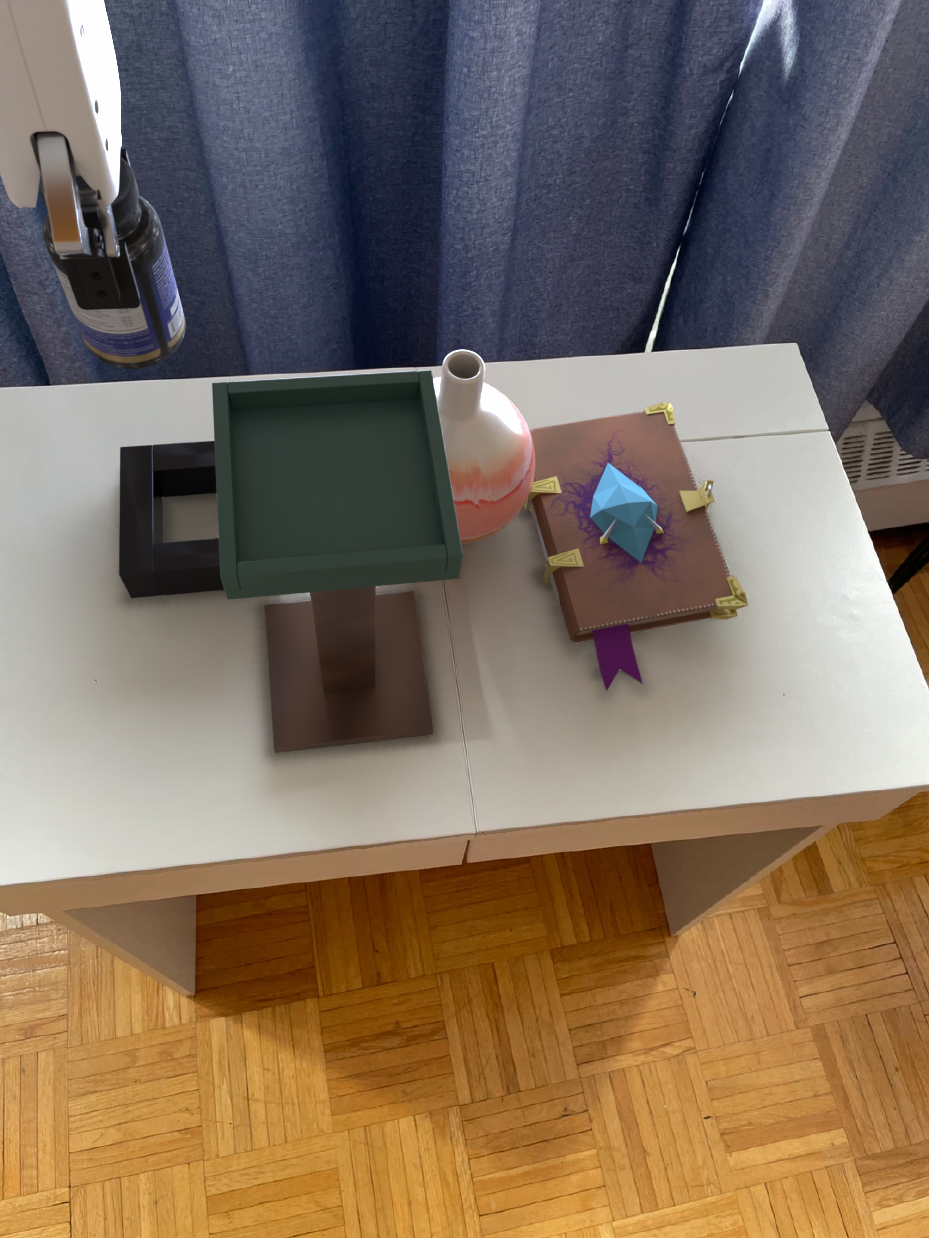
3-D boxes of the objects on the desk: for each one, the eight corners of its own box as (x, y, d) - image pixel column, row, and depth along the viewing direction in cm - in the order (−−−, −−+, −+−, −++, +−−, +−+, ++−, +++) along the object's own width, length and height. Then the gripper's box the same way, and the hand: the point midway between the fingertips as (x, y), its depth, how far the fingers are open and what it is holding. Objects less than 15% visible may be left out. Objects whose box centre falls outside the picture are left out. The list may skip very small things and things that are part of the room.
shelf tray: (227, 600, 48) (220, 577, 45) (218, 411, 53) (211, 382, 50) (459, 579, 49) (463, 555, 47) (429, 398, 54) (432, 369, 52)
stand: (275, 752, 71) (227, 600, 48) (266, 611, 76) (218, 411, 53) (432, 734, 72) (459, 579, 49) (413, 597, 77) (429, 398, 54)
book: (576, 701, 75) (586, 678, 71) (507, 451, 85) (511, 417, 81) (767, 664, 77) (788, 640, 73) (677, 424, 87) (690, 389, 83)
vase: (498, 426, 86) (526, 280, 70) (544, 552, 80) (586, 425, 64) (351, 453, 83) (346, 307, 67) (389, 585, 78) (393, 461, 62)
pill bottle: (139, 282, 59) (92, 122, 49) (209, 333, 58) (175, 178, 48) (61, 336, 56) (-4, 178, 47) (132, 390, 55) (81, 239, 45)
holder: (130, 598, 75) (118, 575, 71) (131, 474, 80) (119, 446, 76) (282, 585, 77) (277, 561, 73) (273, 464, 82) (268, 436, 78)
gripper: (-81, -229, 39) (47, 155, 55) (-134, 25, 32) (32, 384, 47) (107, -220, 40) (179, 153, 56) (98, 27, 33) (184, 377, 49)
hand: (110, 256), depth 52 cm, fingers closed on pill bottle, 6 cm apart
